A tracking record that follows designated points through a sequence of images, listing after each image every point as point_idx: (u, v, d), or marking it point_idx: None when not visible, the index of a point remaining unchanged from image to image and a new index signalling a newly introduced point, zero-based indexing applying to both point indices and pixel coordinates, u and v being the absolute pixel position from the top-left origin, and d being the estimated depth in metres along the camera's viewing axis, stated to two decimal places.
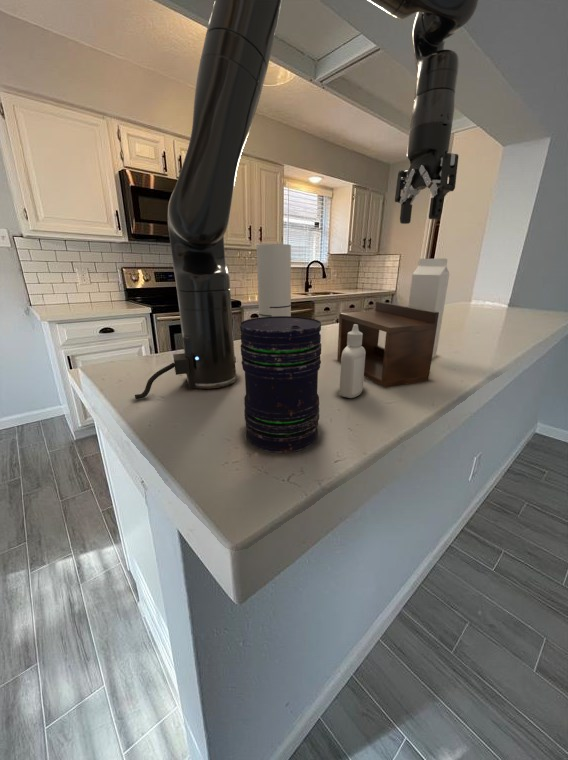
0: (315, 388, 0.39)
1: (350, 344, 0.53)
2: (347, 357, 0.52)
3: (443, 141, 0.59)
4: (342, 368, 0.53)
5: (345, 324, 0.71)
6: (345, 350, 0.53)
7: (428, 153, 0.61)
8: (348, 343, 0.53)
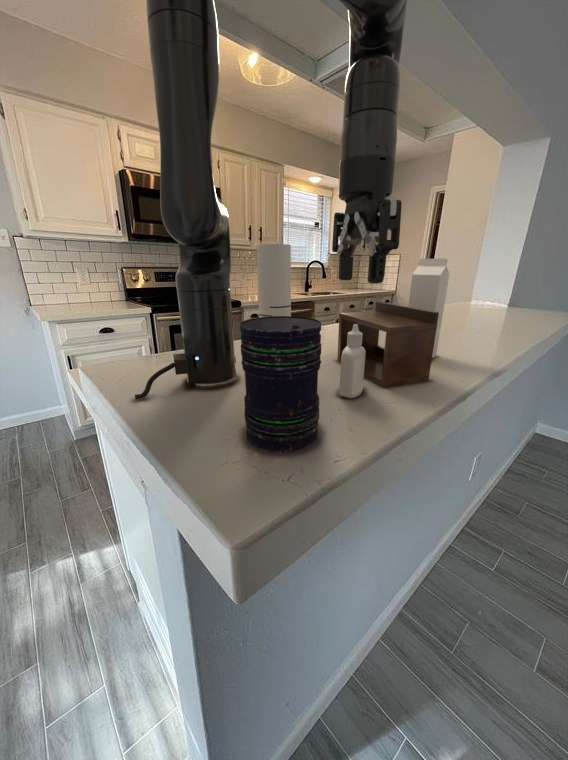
0: (315, 388, 0.39)
1: (350, 344, 0.53)
2: (347, 357, 0.52)
3: (382, 181, 0.43)
4: (342, 368, 0.53)
5: (345, 324, 0.71)
6: (345, 350, 0.53)
7: (364, 196, 0.44)
8: (348, 343, 0.53)
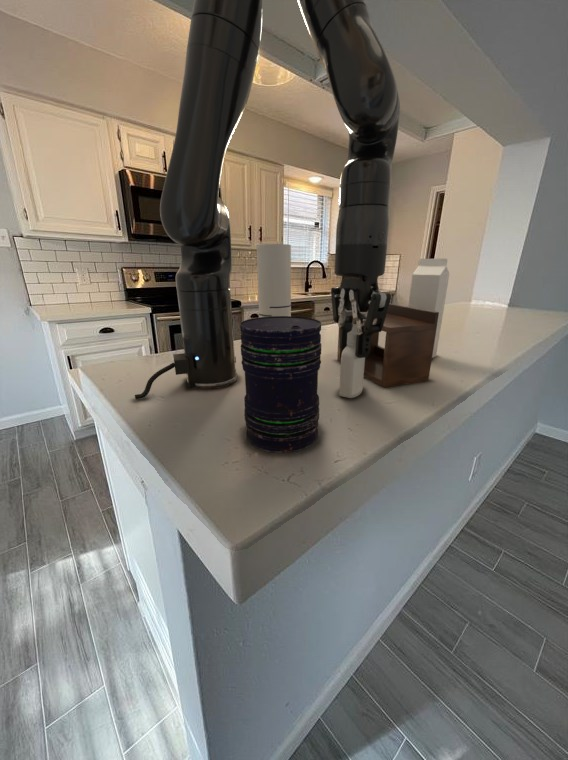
0: (315, 388, 0.39)
1: (350, 344, 0.53)
2: (347, 357, 0.52)
3: (375, 266, 0.46)
4: (342, 368, 0.53)
5: None
6: (345, 350, 0.53)
7: (358, 277, 0.48)
8: (348, 343, 0.53)
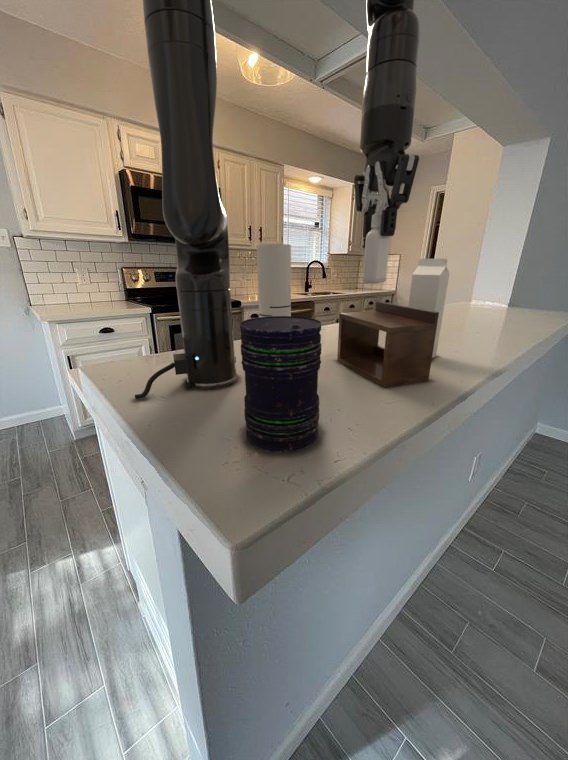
0: (315, 388, 0.39)
1: (374, 225, 0.53)
2: (372, 236, 0.52)
3: (402, 130, 0.46)
4: (366, 250, 0.53)
5: (345, 324, 0.71)
6: None
7: (384, 145, 0.48)
8: (372, 225, 0.53)
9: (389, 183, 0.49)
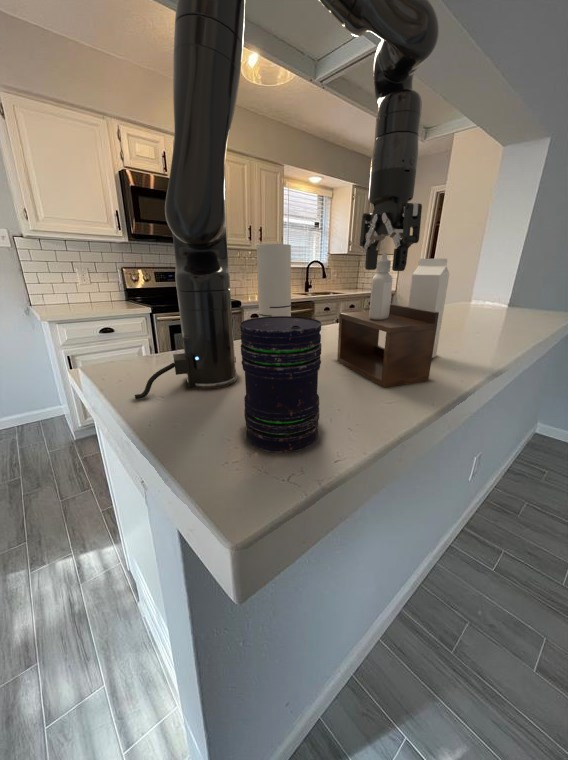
0: (315, 388, 0.39)
1: (380, 270, 0.60)
2: (378, 281, 0.59)
3: (406, 188, 0.53)
4: (373, 292, 0.61)
5: (345, 324, 0.71)
6: (375, 276, 0.60)
7: (390, 200, 0.55)
8: (378, 270, 0.61)
9: None
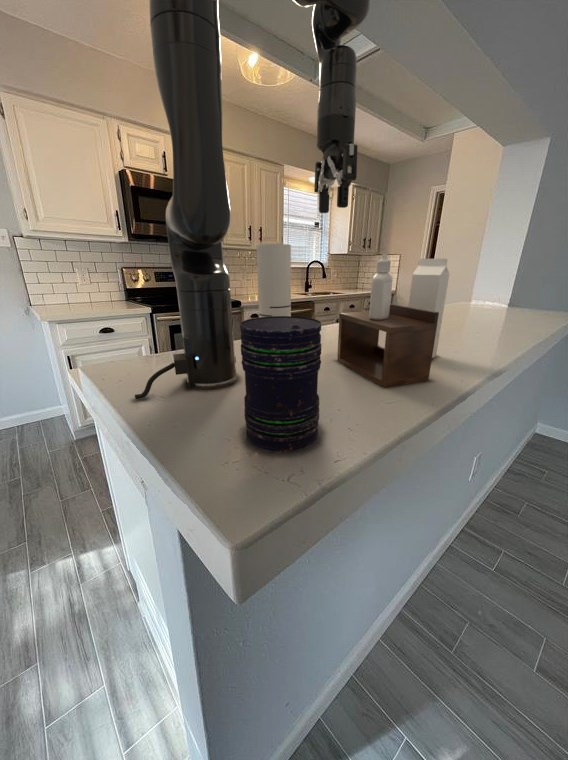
0: (315, 388, 0.39)
1: (380, 270, 0.60)
2: (378, 281, 0.59)
3: (345, 132, 0.62)
4: (373, 292, 0.61)
5: (345, 324, 0.71)
6: (375, 276, 0.60)
7: (333, 144, 0.64)
8: (378, 270, 0.61)
9: None
